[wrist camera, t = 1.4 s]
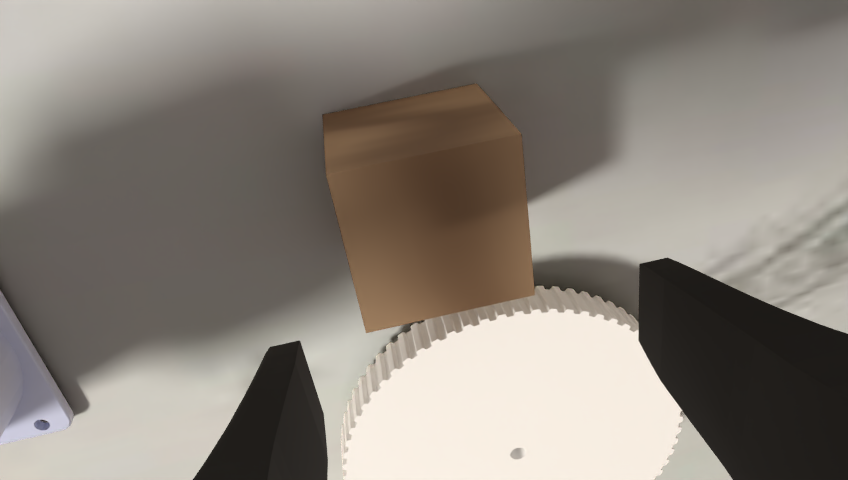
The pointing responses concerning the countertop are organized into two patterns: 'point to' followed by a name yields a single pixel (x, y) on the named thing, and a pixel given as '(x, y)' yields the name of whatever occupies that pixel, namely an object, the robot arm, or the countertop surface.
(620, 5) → the countertop surface
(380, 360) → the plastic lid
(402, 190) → the walnut cube
